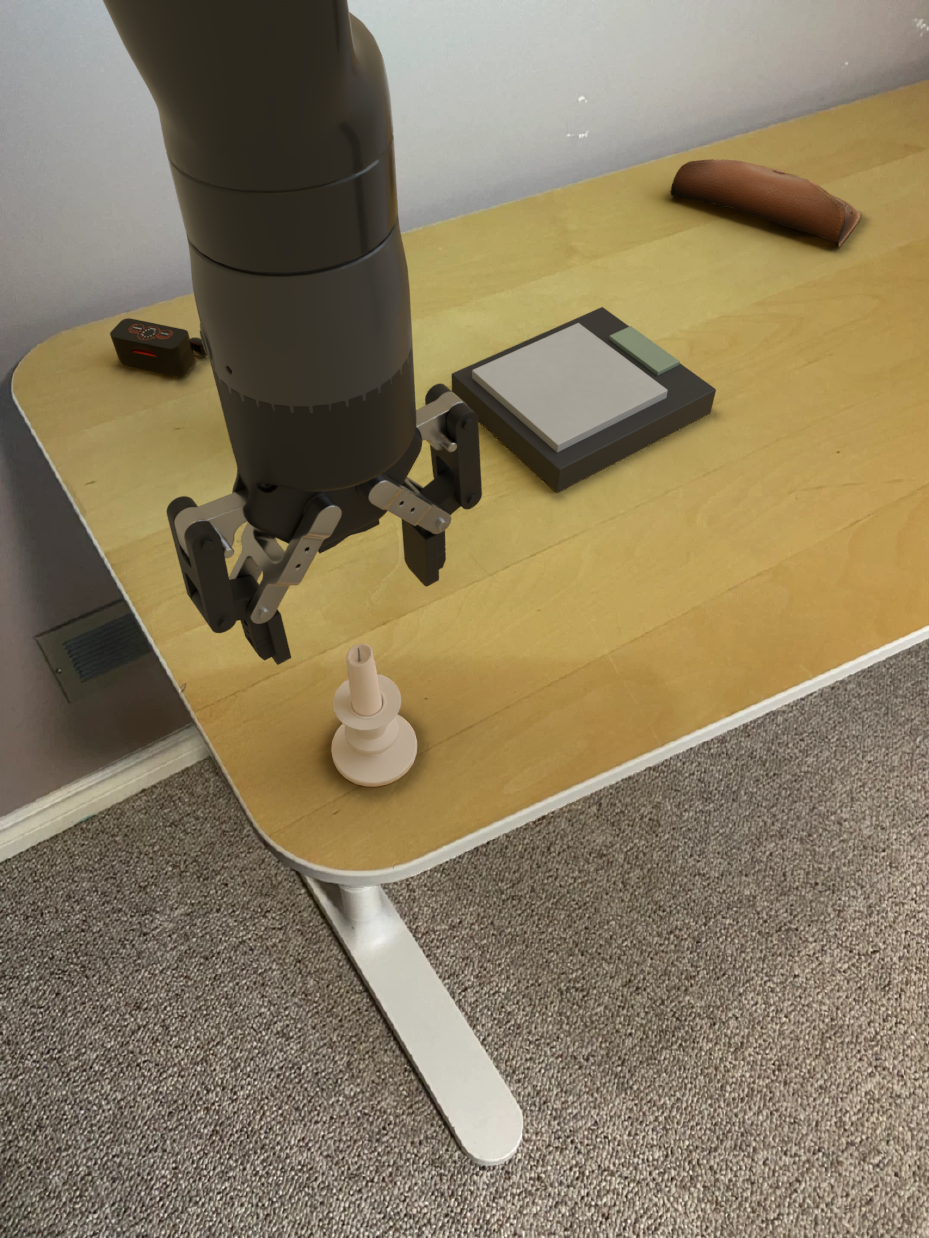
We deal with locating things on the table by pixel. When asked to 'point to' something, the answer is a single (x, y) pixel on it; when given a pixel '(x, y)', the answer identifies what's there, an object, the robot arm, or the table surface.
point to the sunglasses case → (767, 196)
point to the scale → (582, 396)
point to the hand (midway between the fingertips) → (351, 610)
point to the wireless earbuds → (155, 347)
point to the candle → (370, 725)
